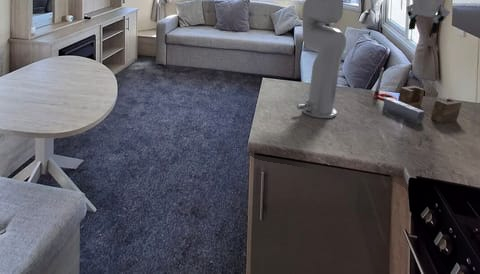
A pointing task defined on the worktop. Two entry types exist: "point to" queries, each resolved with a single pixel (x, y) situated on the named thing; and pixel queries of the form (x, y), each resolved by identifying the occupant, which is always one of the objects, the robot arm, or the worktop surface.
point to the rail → (403, 110)
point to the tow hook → (377, 94)
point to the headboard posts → (441, 111)
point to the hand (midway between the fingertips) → (422, 31)
